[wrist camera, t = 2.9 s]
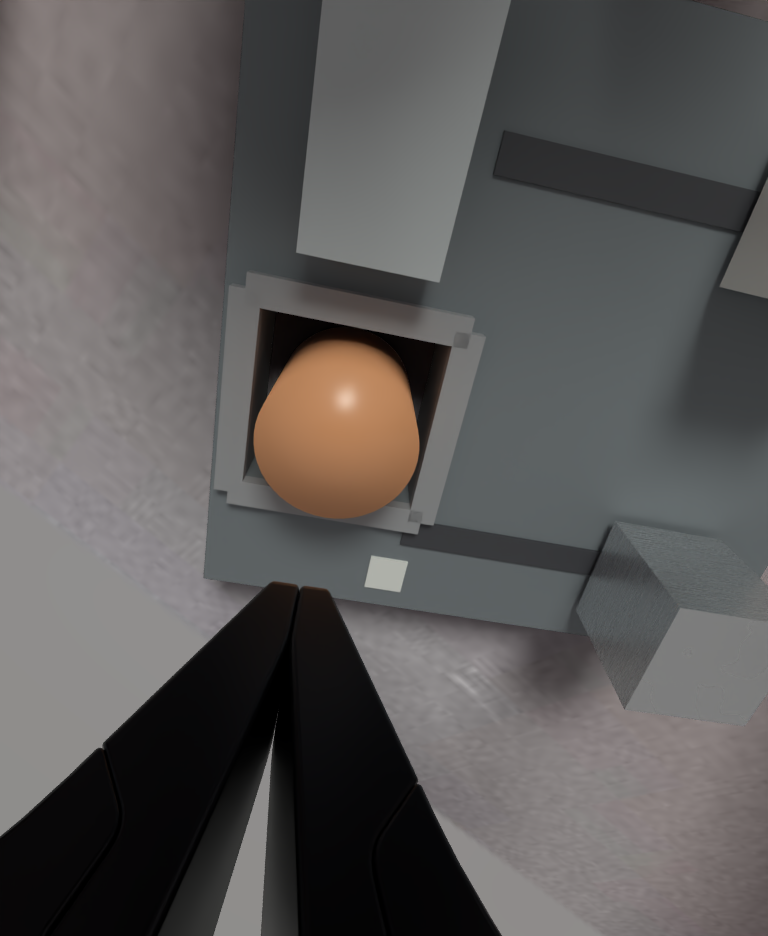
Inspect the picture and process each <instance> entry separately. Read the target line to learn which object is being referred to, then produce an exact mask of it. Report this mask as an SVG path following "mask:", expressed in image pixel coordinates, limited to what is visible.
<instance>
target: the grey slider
mask: <svg viewBox="0 0 768 936" xmlns="http://www.w3.org/2000/svg"><path fill="white" fill-rule="evenodd" d="M576 612H577V614H578V616H579V618H580V620H581V622H582V624H583V626H584V628H585V630H586V632H587V634H588V636H589V638H590V640H591V642H592V644H593V646H594V648H595V650H596V652H597V654H598V656H599V659H600V661H601V663H602V665H603V667H604V669H605V671H606V673H607V675H608V677H609V679H610V681H611V683H612V685H613V687H614V689H615V691H616V693H617V695H618V697H619V699H620V701H621V703H622V705H623V708H624V710H631V711H638V712H645V713H652V714H659V715H667V716H674V717H681V718H688V719H696V720H703V721H710V722H717V723H725V724H732V725H739V726H745V725H746V724H747V722H748V721H749V719H750V718H751V716H752V715H753V714H754V712H755V711H756V709H757V708H758V706H759V705H760V703H761V702H762V701H763V699H764V698H765V696H766V695H767V693H768V585H767V584H766V583H765V582H764V581H763V580H762V579H761V578H760V577H758V576H757V575H756V574H755V573H754V572H753V571H752V570H751V569H750V568H749V567H748V566H747V565H746V564H745V563H744V562H743V561H742V560H741V559H740V558H739V557H738V556H737V555H736V554H735V553H734V552H733V551H732V550H731V549H730V548H729V547H728V546H727V545H726V544H725V543H724V542H723V541H722V540H721V539H715V538H709V537H704V536H698V535H692V534H686V533H681V532H675V531H669V530H663V529H657V528H652V527H646V526H640V525H634V524H628V523H623V522H617V521H615V522H614V525H613V527H612V529H611V531H610V534H609V536H608V538H607V540H606V543H605V545H604V547H603V549H602V552H601V554H600V556H599V558H598V561H597V563H596V565H595V567H594V570H593V572H592V574H591V576H590V579H589V581H588V583H587V585H586V588H585V590H584V592H583V594H582V597H581V599H580V601H579V603H578V606H577V608H576Z"/></svg>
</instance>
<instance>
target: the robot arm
mask: <svg viewBox="0 0 768 936" xmlns="http://www.w3.org/2000/svg"><path fill="white" fill-rule="evenodd" d="M298 595H299V596H298ZM277 714H278V715H277ZM276 720H277V721H276ZM275 725H276V727H275ZM274 730H275V734H274ZM273 735H274V741H273V749H272V760H271V776H270V792H269V810H268V826H267V842H266V859H265V876H264V892H263V910H262V926H261V927H262V928H261V936H502V935H501V933H500V932H499V930H498V929H497V927H496V925H495V924H494V922H493V920H492V919H491V917H490V915H489V914H488V912H487V910H486V908H485V907H484V905H483V903H482V901H481V900H480V898H479V896H478V895H477V893H476V891H475V889H474V888H473V886H472V884H471V882H470V881H469V879H468V877H467V875H466V874H465V872H464V870H463V869H462V867H461V865H460V863H459V862H458V860H457V858H456V856H455V854H454V852H453V850H452V848H451V846H450V844H449V842H448V840H447V838H446V836H445V834H444V832H443V830H442V828H441V826H440V824H439V822H438V820H437V818H436V816H435V814H434V812H433V810H432V808H431V805H430V803H429V801H428V799H427V797H426V795H425V793H424V790H423V788H422V786H421V785H419V784H417V782H418V779H417V776H416V774H415V772H414V770H413V768H412V766H411V763H410V761H409V759H408V757H407V755H406V753H405V751H404V748H403V746H402V744H401V742H400V740H399V738H398V736H397V734H396V731H395V729H394V727H393V725H392V723H391V721H390V719H389V717H388V714H387V712H386V710H385V708H384V706H383V704H382V702H381V699H380V697H379V695H378V693H377V691H376V689H375V687H374V685H373V682H372V680H371V678H370V676H369V674H368V672H367V670H366V668H365V665H364V663H363V661H362V659H361V657H360V655H359V653H358V650H357V648H356V646H355V644H354V642H353V640H352V638H351V636H350V633H349V631H348V629H347V627H346V625H345V623H344V621H343V619H342V616H341V614H340V612H339V610H338V608H337V606H336V604H335V601H334V599H333V597H332V595H331V593H330V591H329V590H327V589H325V588H318V587H311V586H302V587H301V588H300V591H299V587H298V585H296V584H291V583H284V582H277V581H273V582H270V583H269V584H268V585H267V586H266V587H265V588H264V589H263V590H262V591H261V592H259V593H258V594H257V595H256V596H255V597H254V598H253V599H252V600H251V601H250V602H249V603H248V604H247V605H246V606H245V607H244V608H243V609H242V610H241V611H240V612H239V613H238V614H237V615H236V616H235V617H234V618H232V619H231V620H230V621H229V622H228V623H227V624H226V625H225V626H224V627H223V628H222V629H221V630H220V631H219V632H218V633H217V634H216V635H215V636H214V637H213V638H212V639H211V640H210V641H209V642H208V643H207V644H205V645H204V647H202V648H201V649H200V650H199V651H198V652H197V653H196V654H195V655H194V656H193V657H192V658H191V659H190V660H189V661H188V662H187V663H186V664H185V665H184V666H183V667H182V668H181V669H179V671H177V672H176V673H175V674H174V676H172V677H171V678H170V679H169V680H168V681H167V682H166V683H165V684H164V685H163V686H162V687H161V688H160V689H159V690H158V691H157V692H156V693H155V694H154V695H152V696H151V697H150V698H149V699H148V700H147V701H146V702H145V703H144V704H143V705H142V706H141V707H140V708H139V709H138V710H137V711H136V712H135V713H134V714H133V715H132V716H131V717H130V718H129V719H128V720H127V721H126V722H125V723H123V724H122V725H121V726H120V727H119V728H118V730H116V731H115V732H114V733H113V734H112V735H111V736H110V737H109V738H108V739H107V740H106V741H105V742H104V743H103V749H102V748H98V749H96V750H95V751H94V752H93V753H92V754H91V755H90V756H89V757H88V758H87V759H86V760H85V761H84V762H82V763H81V764H80V765H79V766H78V767H77V768H76V769H75V770H74V771H73V772H72V773H71V774H70V775H69V776H68V777H67V778H66V779H65V780H64V781H63V782H61V783H60V784H59V785H58V786H57V787H56V788H55V789H54V790H53V791H52V792H50V793H49V794H48V795H47V796H46V797H45V798H44V799H43V800H42V801H41V802H40V803H38V804H37V805H36V806H35V807H34V808H33V809H32V810H31V811H30V812H29V813H28V814H26V815H25V816H24V817H23V818H22V819H21V820H20V821H18V822H17V823H16V824H15V825H14V826H12V827H11V828H10V829H9V830H8V831H6V832H5V833H4V834H3V835H2V836H0V936H213V934H214V931H215V928H216V925H217V921H218V918H219V915H220V912H221V908H222V905H223V902H224V899H225V895H226V892H227V889H228V886H229V882H230V879H231V876H232V873H233V869H234V866H235V863H236V860H237V856H238V853H239V849H240V846H241V843H242V840H243V837H244V833H245V830H246V827H247V824H248V821H249V818H250V814H251V811H252V807H253V805H254V801H255V798H256V795H257V791H258V788H259V785H260V782H261V779H262V775H263V772H264V769H265V766H266V762H267V759H268V755H269V751H270V748H271V744H272V739H273Z"/></svg>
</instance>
